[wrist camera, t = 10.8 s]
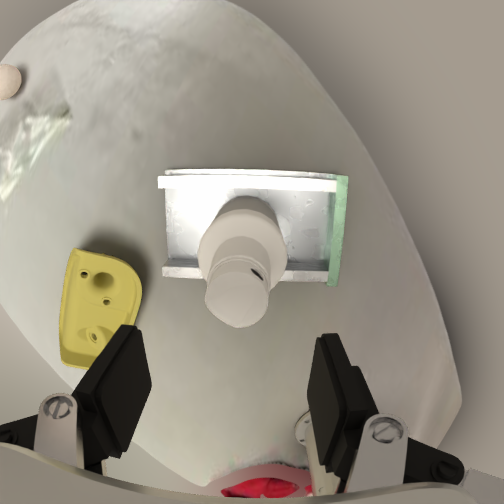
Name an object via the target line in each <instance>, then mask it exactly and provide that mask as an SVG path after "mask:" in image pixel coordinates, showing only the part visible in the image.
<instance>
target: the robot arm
mask: <svg viewBox="0 0 504 504" xmlns="http://www.w3.org/2000/svg"><path fill="white" fill-rule="evenodd" d="M151 387H152V382H151V377H150V373H149V368H148V363H147V358H146V353H145V348H144V343H143V337H142V332H141V330H138V329H137V327H136V326H135V325H126V324H121V325H120V327H119V328H118V329H117V331H116V332H115V333H114V335H113V336H112V338H111V339H110V340H109V342H108V343H107V345H106V346H105V347H104V349H103V350H102V352H101V353H100V354H99V355H98V356H97V358H96V359H95V360H94V362H93V363H92V365H91V366H90V368H89V369H88V371H87V372H86V374H85V375H84V376H83V378H82V379H81V381H80V382H79V384H78V385H77V387H76V388H75V390H74V391H73V393H72V395H69V394H65V393H56V394H52V395H50V396H48V397H47V398H45V399H44V400H43V401H42V403H41V405H40V407H39V414H37V415H34V416H30V417H27V418H24V419H20V420H17V421H13V422H10V423H6V424H3V425H0V504H504V479H501V478H498V477H495V476H492V475H488V474H486V473H483V472H480V471H477V470H475V469H472V468H470V469H469V470H468V471H467V470H465V469H464V466H463V464H462V462H461V461H460V460H459V459H458V458H457V457H455V456H453V455H451V454H448V453H445V452H443V451H440V450H438V449H435V448H433V447H430V446H428V445H426V444H423V443H421V442H418V441H416V440H414V439H411V438H409V437H408V427H407V426H406V424H405V422H404V421H403V420H402V419H400V418H399V417H397V416H395V415H391V414H379V412H378V409H377V407H376V405H375V402H374V400H373V397H372V395H371V393H370V390H369V388H368V386H367V383H366V381H365V379H364V376H363V374H362V372H361V370H360V368H359V367H358V366H351V364H350V361H349V359H348V357H347V354H346V352H345V349H344V347H343V345H342V342H341V340H340V338H339V335H338V334H337V333H327V334H322V336H321V337H317V339H316V344H315V350H314V356H313V362H312V367H311V373H310V379H309V384H308V389H307V399H308V404H309V409H310V411H309V412H308V413H306V414H305V415H304V416H303V417H302V418H301V419H300V420H299V421H298V422H297V424H296V427H295V436H296V439H297V441H298V442H299V443H300V444H302V445H303V446H305V447H306V449H307V455H308V462H309V470H310V476H311V483H312V491H313V496H312V497H298V498H265V499H263V498H231V497H216V496H204V495H196V494H188V493H181V492H174V491H168V490H163V489H157V488H152V487H147V486H143V485H138V484H134V483H129V482H125V481H121V480H117V479H114V478H110V477H107V470H106V462H105V459H107V458H108V457H109V456H111V457H115V458H119V459H120V457H121V455H122V452H126V451H127V449H128V447H129V444H130V442H131V439H132V437H133V434H134V431H135V429H136V426H137V424H138V421H139V419H140V416H141V413H142V411H143V408H144V406H145V403H146V401H147V398H148V396H149V393H150V391H151Z"/></svg>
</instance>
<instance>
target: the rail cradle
mask: <svg viewBox="0 0 504 504" xmlns="http://www.w3.org/2000/svg"><path fill="white" fill-rule="evenodd" d="M158 188H165V197H166V228H167V248H168V260H167V261H166V262H165V264H164V265H163V266H162V271H163V277H178V278H201V279H204V277H203V275H202V272H201V270H200V268H199V263H198V254H197V253H198V248H199V244H200V240H201V238H202V236H203V235H204V233H205V231H206V230H207V228H208V227H209V225H210V224H211V222H212V221H213V219H214V218H215V216H216V215H217V213H218V212H219V210H220V209H221V207H222V206H223V205H224V204H226V203H227V202H228V201H229V200H231V199H233V198H236V197H239V196H253V197H257V198H260V199H261V200H263V201H265V202H266V203H268V204H269V206H270V207H271V208H272V209H273V211H274V212H275V215H276V218H277V220H278V223H279V226H280V229H281V232H282V235H283V238H284V241H285V244H286V247H287V265H286V268H285V271H284V274H283V276H282V278H281V279H280V280H279V281H308V282H325V284H326V286H337V284H338V277H339V269H340V261H341V253H342V244H343V235H344V225H345V214H346V202H347V188H348V176H345V175H339V174H330V173H318V172H302V171H283V170H257V169H169V170H165V175H162V176H158Z"/></svg>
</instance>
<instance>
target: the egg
mask: <svg viewBox="0 0 504 504" xmlns="http://www.w3.org/2000/svg"><path fill="white" fill-rule="evenodd" d="M20 85H21V74H20V72H19V70H18V69H17V68H16V67H14V66H12V65H7V64H3V65H0V100H5V99H8V98H10V97H11V96H13V95H14V94H15V93H16V92H17V91H18V89H19V87H20Z"/></svg>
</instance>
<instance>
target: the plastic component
mask: <svg viewBox="0 0 504 504" xmlns="http://www.w3.org/2000/svg"><path fill="white" fill-rule="evenodd" d="M81 272H86V273H88V274H87V275H83V274H82V273H81ZM141 296H142V286H141V282H140V279H139V276H138V274H137V273H136V271H135V270H134V269H133V268H132V267H131V266H130V265H129V264H128V263H126V262H125V261H123V260H121V259H118V258H116V257H114V256H113V255H112V256H108V255H105V253H102V254H99V253H94V252H89V251H85V250H81V249H77V248H73V250H72V252H71V254H70V257H69V260H68V264H67V268H66V273H65V279H64V285H63V292H62V300H61V308H60V318H59V342H60V355H61V361H62V363H63V364H65V365H66V366H70V367H75V368H80V369H86V370H88V369H89V368H90V366H91V365H92V363H93V362H94V360H95V359H96V358H97V356H98V355H99V354H100V353H101V352H102V350H103V349H104V347H105V346H106V345H107V343H108V342H109V340H110V339H111V338H112V336H113V335H114V333H115V332H116V331H117V329H118V328H119V327H120V325H121V324H126V325H134V322H135V319H136V316H137V312H138V309H139V306H140V302H141ZM94 334H95V335H96V337H97V338H96V337H95V335H94Z"/></svg>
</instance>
